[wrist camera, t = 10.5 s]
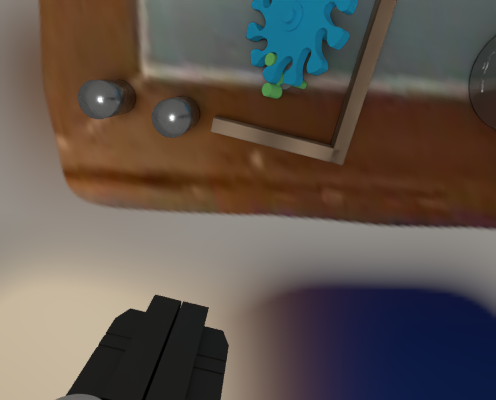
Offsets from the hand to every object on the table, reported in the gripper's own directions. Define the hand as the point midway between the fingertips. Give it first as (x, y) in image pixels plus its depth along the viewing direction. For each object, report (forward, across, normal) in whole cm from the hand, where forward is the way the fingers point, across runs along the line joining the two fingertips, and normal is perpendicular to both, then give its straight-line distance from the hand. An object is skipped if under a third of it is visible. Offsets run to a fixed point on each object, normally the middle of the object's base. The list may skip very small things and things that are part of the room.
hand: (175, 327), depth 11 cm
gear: (+27, -2, -11) cm, 29 cm away
